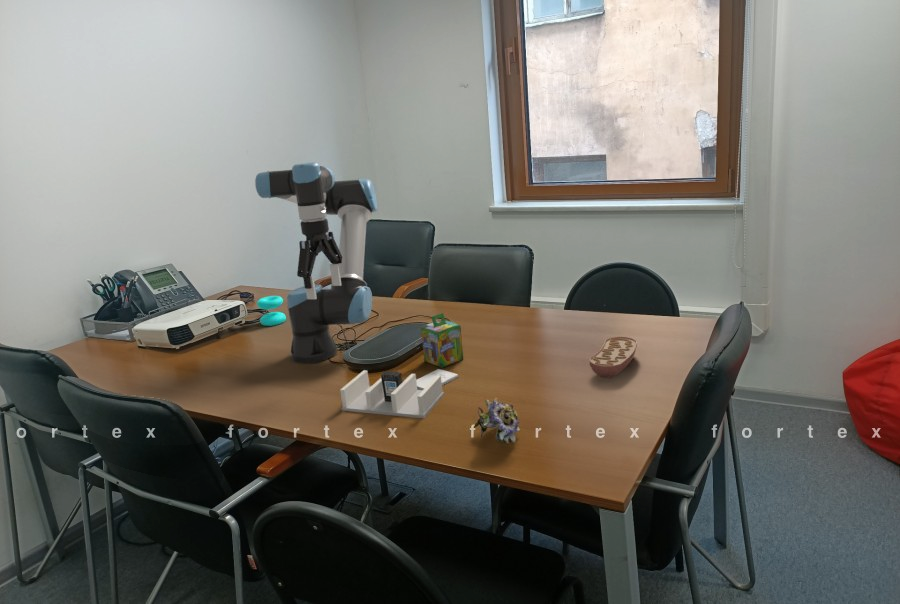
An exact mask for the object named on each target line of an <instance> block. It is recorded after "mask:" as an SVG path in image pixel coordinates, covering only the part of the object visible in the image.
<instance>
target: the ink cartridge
mask: <svg viewBox="0 0 900 604" xmlns="http://www.w3.org/2000/svg"><path fill="white" fill-rule="evenodd" d="M380 378H381V379H382V386H383V392H384V398H385V399H384V400H385V401H387V402H392V401H391V393H392V392H393V391H394V390H395V389H396V388H397V387H398V386H399V385H400V384H401V383H402V382H403V376H402V372H399V371H390V370H386V371H384V372H383V373H382V374H381V375H380Z"/></svg>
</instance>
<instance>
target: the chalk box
mask: <svg viewBox="0 0 900 604" xmlns="http://www.w3.org/2000/svg"><path fill="white" fill-rule="evenodd" d="M439 318H440V319H439ZM438 319H439V320H438ZM431 320H432V322H430V323H426V324H424V325H421V326H420V333H421V341H422V342H421V343H422V349H423V350H422V351H423V358H424V359H423V360H424V362H425V363H428V364H431V365H433V366H437V367H439V368H445V367H447V366H450V365H452V364H454V363H457V362H460V361H463V360H464V349H463V339H462V327H461V326H462V325H461V324H458V323H455V322H453V321H451V320H450V321H449V320H446V319H445V315H444V313H443V312H441V313H440V312H439V313H438V314H435V315H432V316H431Z"/></svg>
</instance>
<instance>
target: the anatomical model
mask: <svg viewBox="0 0 900 604" xmlns="http://www.w3.org/2000/svg"><path fill="white" fill-rule="evenodd" d="M637 346H638V341H637V340H635V339H634V338H632V337H628V336H614V337H610V338H607V339H605V340H604V343H603V344H602V347H601V348H600V349H599V351H597V352H596V353H595V354H594V355H593V356H591V357H590V358H589V365H590V368H591V370H592V371H593V372H594V373H595V374H596V375H597V376H599V377H601V378H604V379H605V378H607V379H608V378H614V377H615V376H617V375H618V374H620V373H621V372H622V371H623V370H625V369H626V368H627V367H628V365H629V364H630V363H631V361H632V360H633V358H634V356H635V354H636V349H637Z"/></svg>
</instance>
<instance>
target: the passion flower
mask: <svg viewBox="0 0 900 604" xmlns="http://www.w3.org/2000/svg"><path fill="white" fill-rule="evenodd" d="M484 402H485V405H486V407H487V410H488V411H487V412H485V413H484V410H483V409H482V407H481V406H479V407H477V410H476V411H477V414H478V415H479V418H478V419H477V422H475V423H474V426H473V428H474V429H475V428H477V427H478V426H480V438H482V436H483V434H484V433H486V432H487V429H488V428H489V429H493V428H495V429H497V432H496V434H495V439H496V440H497V442H503V443H504V444H506V445H508V444H509V442H510V443H512V444H515V443H516V432H519V431H520V430H521V429H520V427H519V424H520V421H519V419H518V413H517V411H516V410H515V409H514V405H513V404H510V405H509V404H507V403H505V404H504V402H503V401H502V402H498V398H497V397H494V398H493V401H492V402H493V403H492V402H490V400H489V399H485V401H484ZM479 410H480V411H479Z"/></svg>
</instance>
